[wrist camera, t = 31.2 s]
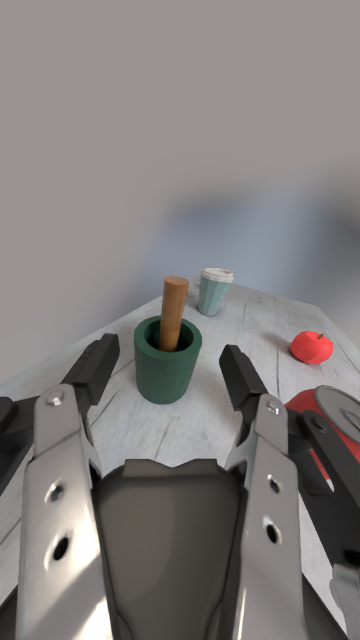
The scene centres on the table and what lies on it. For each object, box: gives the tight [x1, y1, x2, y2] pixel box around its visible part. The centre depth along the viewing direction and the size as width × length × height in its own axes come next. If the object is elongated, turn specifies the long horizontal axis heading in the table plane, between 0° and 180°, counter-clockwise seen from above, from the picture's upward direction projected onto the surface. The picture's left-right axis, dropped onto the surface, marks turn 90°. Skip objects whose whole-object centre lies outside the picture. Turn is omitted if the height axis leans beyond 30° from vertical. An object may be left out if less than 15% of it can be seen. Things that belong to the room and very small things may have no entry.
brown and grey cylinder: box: [157, 276, 189, 352], centre depth 20 cm, size 4×4×18 cm
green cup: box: [134, 315, 202, 404], centre depth 23 cm, size 10×10×11 cm
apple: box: [290, 331, 333, 364], centre depth 35 cm, size 8×8×8 cm
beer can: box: [284, 385, 360, 480], centre depth 16 cm, size 7×7×12 cm
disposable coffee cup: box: [198, 268, 234, 316], centre depth 46 cm, size 11×11×15 cm
